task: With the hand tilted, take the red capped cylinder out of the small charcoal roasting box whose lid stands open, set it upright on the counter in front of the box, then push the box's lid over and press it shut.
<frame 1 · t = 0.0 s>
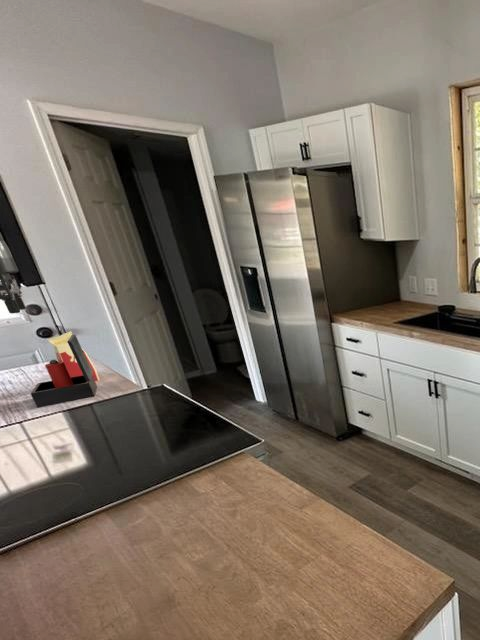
hand: (18, 311, 128), 31 cm above the worktop, tool pointing down, fingers open, 8 cm apart
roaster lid: (80, 357, 142), point 13 cm above the worktop, hinge at 88.0°
red capped cylinder: (69, 396, 142), point 1 cm above the worktop, touching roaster
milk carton: (83, 384, 157), on the worktop
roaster: (70, 398, 142), on the worktop
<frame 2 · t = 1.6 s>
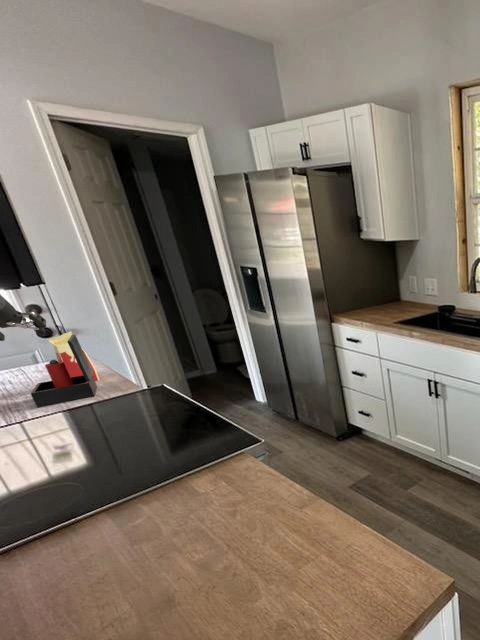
hand: (23, 336, 124), 25 cm above the worktop, tool tilted 45°, fingers open, 8 cm apart
nothing on the worktop moved.
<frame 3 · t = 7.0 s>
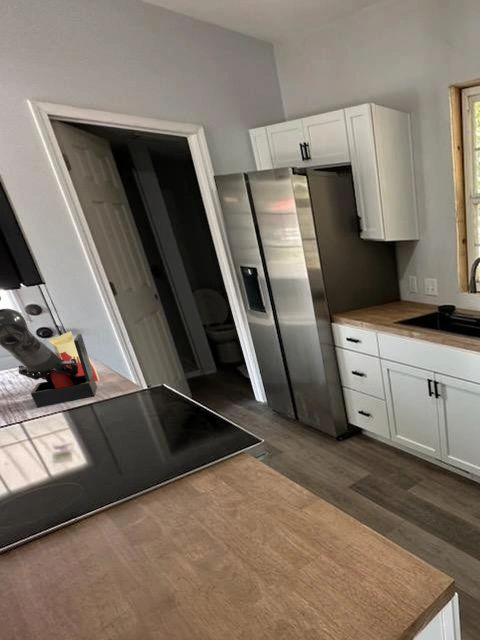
hand: (64, 379, 142), 6 cm above the worktop, tool tilted 45°, fingers closed on red capped cylinder, 4 cm apart
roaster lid: (83, 357, 142), point 13 cm above the worktop, hinge at 94.2°
red capped cylinder: (69, 396, 142), point 1 cm above the worktop, touching gripper, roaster
everything else where it was.
when the fingers open (6 cm above the worktop, at t = 15.8 s): red capped cylinder stays where it is, on the worktop.
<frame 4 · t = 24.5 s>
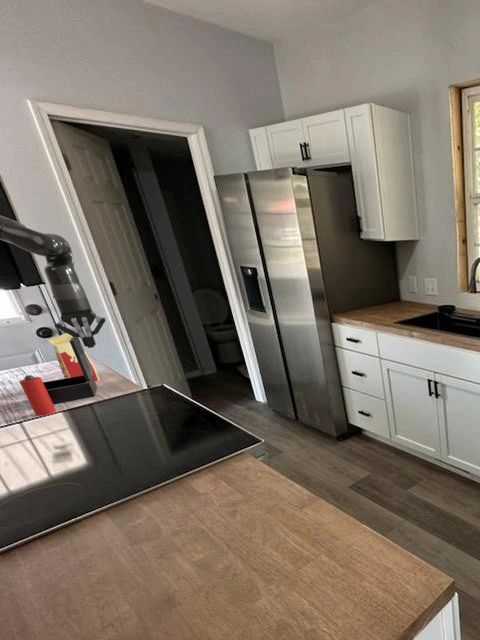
hand: (91, 347, 143), 16 cm above the worktop, tool pointing down, fingers closed
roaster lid: (81, 357, 142), point 13 cm above the worktop, hinge at 90.0°
red capped cylinder: (47, 415, 129), on the worktop
everything else where it was.
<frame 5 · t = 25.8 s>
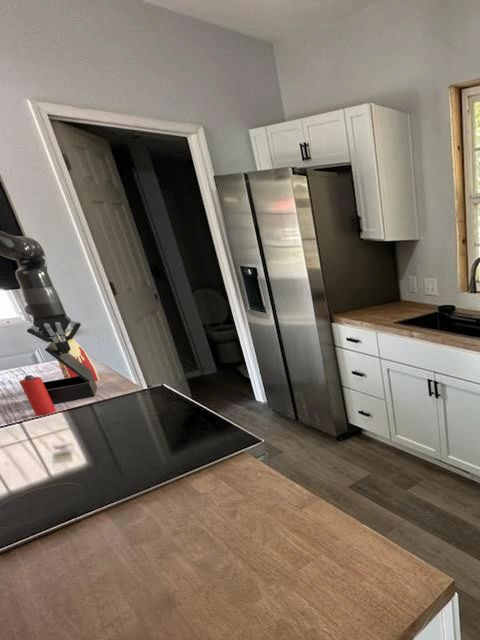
hand: (65, 352, 139), 16 cm above the worktop, tool pointing down, fingers closed
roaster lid: (70, 361, 140), point 13 cm above the worktop, hinge at 64.2°
everything else where it was.
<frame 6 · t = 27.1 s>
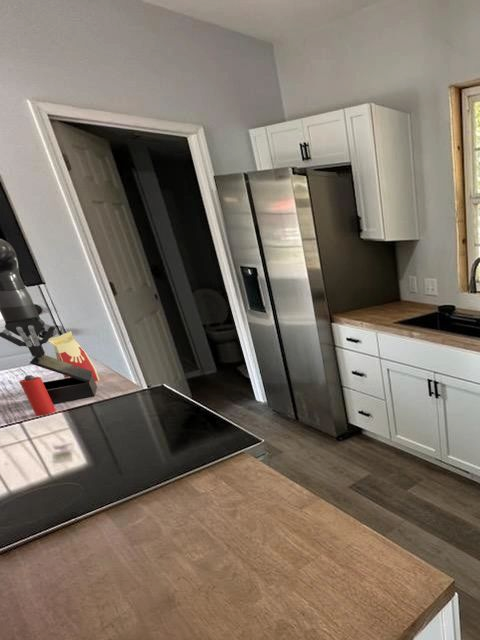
hand: (39, 356, 135), 16 cm above the worktop, tool pointing down, fingers closed
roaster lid: (62, 367, 139), point 11 cm above the worktop, hinge at 41.3°
everything else where it was.
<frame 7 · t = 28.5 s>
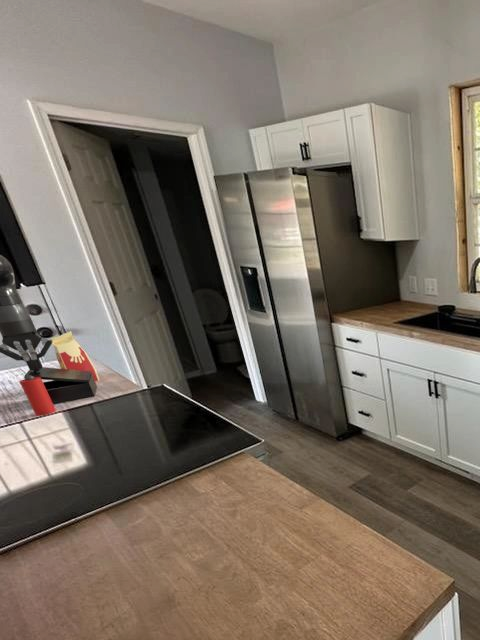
hand: (37, 370, 136), 11 cm above the worktop, tool pointing down, fingers closed
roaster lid: (60, 374, 139), point 9 cm above the worktop, hinge at 21.1°, touching gripper
everything else where it was.
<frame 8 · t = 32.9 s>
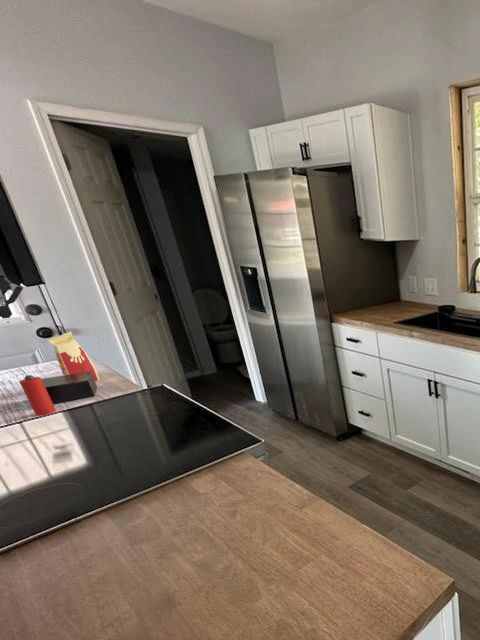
hand: (6, 317, 130), 29 cm above the worktop, tool pointing down, fingers closed
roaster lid: (61, 381, 140), point 6 cm above the worktop, hinge at 1.6°
everything else where it was.
at the end: red capped cylinder inside the target area (0.1 cm from its centre), on the worktop; red capped cylinder tilted 0°; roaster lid at +2° (first picture: +88°) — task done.
